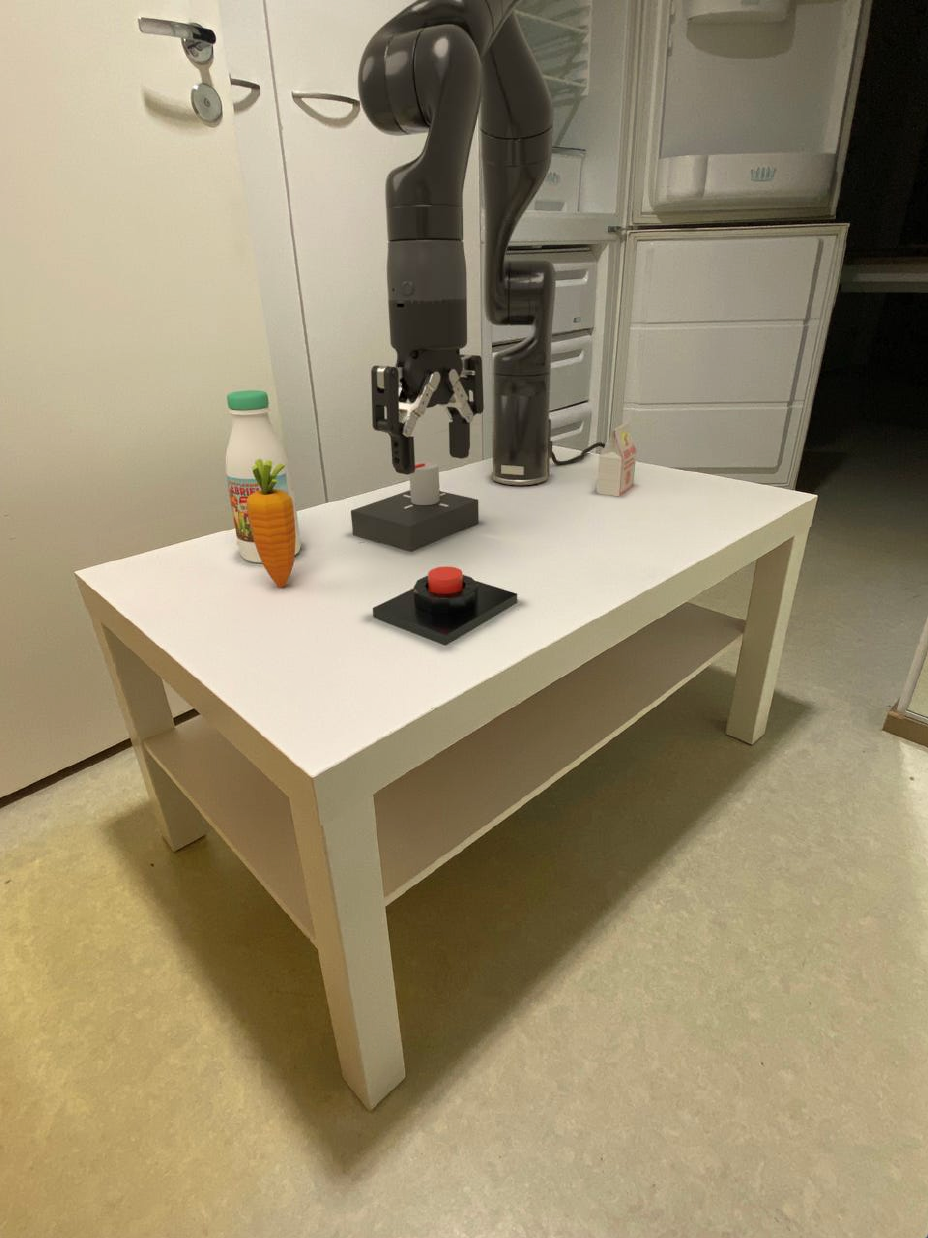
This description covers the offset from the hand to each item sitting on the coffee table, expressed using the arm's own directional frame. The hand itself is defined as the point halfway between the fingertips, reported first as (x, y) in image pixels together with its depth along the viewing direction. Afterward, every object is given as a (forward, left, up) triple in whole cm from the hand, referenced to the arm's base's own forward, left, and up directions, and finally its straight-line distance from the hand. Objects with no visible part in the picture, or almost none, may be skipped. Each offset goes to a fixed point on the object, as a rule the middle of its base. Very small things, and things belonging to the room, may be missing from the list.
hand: (433, 464), depth 74 cm
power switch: (+4, +5, -14) cm, 15 cm away
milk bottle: (+5, -24, -14) cm, 29 cm away
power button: (+4, +5, -12) cm, 13 cm away
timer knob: (-15, -15, -11) cm, 24 cm away
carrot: (+11, -14, -14) cm, 23 cm away
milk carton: (-46, -2, -14) cm, 48 cm away
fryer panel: (-13, -15, -14) cm, 24 cm away
